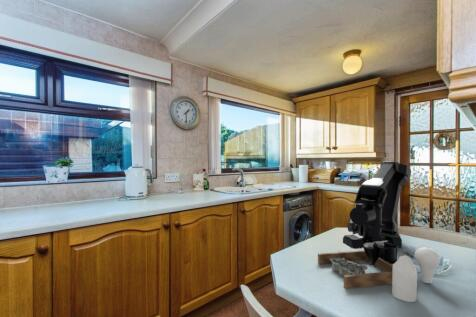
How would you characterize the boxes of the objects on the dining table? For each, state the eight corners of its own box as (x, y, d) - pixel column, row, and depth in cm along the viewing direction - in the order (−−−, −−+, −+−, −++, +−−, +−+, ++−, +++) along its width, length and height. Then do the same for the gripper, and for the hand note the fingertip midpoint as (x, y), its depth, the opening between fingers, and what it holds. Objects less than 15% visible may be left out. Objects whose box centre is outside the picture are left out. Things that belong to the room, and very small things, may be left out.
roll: (407, 250, 68) (423, 258, 62) (406, 290, 68) (423, 302, 63) (387, 250, 68) (402, 259, 62) (387, 291, 68) (401, 303, 62)
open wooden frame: (366, 259, 89) (366, 250, 89) (404, 283, 72) (404, 271, 72) (317, 262, 86) (317, 253, 86) (345, 288, 69) (345, 277, 69)
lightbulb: (441, 290, 68) (441, 253, 68) (415, 284, 71) (415, 249, 71) (437, 281, 73) (437, 246, 73) (413, 275, 76) (413, 242, 76)
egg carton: (369, 279, 75) (369, 267, 75) (351, 283, 72) (351, 270, 72) (344, 264, 85) (344, 253, 85) (327, 267, 83) (328, 256, 82)
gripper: (378, 213, 89) (378, 253, 89) (333, 215, 86) (333, 256, 86) (403, 221, 78) (403, 267, 78) (353, 223, 75) (353, 271, 75)
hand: (371, 264), depth 80 cm, fingers closed
